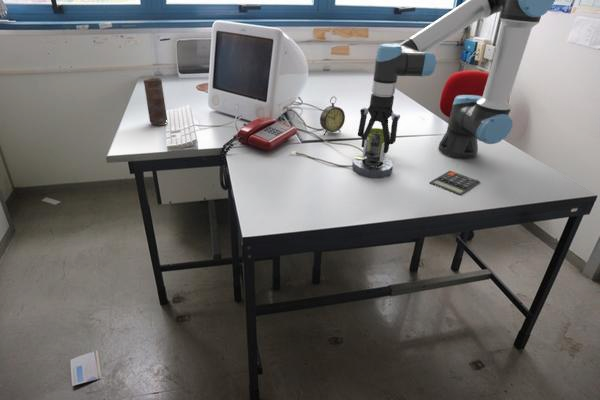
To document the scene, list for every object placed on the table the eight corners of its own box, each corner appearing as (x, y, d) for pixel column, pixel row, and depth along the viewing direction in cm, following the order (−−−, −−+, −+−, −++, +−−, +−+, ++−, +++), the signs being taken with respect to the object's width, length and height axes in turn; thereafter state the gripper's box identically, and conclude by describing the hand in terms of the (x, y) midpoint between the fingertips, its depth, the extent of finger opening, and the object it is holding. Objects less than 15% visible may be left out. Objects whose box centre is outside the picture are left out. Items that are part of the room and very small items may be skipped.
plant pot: (390, 151, 165) (394, 131, 160) (382, 159, 158) (385, 138, 153) (369, 146, 169) (371, 126, 164) (360, 153, 162) (362, 133, 157)
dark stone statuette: (378, 159, 150) (383, 128, 144) (382, 166, 145) (387, 134, 139) (363, 159, 150) (367, 128, 144) (365, 166, 145) (370, 134, 139)
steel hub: (396, 168, 151) (398, 160, 150) (382, 182, 141) (384, 173, 139) (361, 158, 157) (362, 151, 156) (346, 171, 147) (346, 163, 145)
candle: (153, 127, 176) (147, 81, 166) (147, 123, 181) (140, 77, 171) (170, 124, 180) (165, 78, 171) (163, 120, 185) (158, 75, 175)
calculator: (480, 181, 144) (461, 194, 134) (480, 183, 144) (460, 196, 135) (450, 169, 151) (429, 181, 141) (449, 172, 151) (428, 184, 142)
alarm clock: (324, 136, 176) (327, 99, 168) (317, 132, 180) (319, 96, 172) (344, 132, 182) (347, 96, 174) (336, 129, 185) (340, 93, 177)
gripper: (414, 96, 134) (401, 161, 145) (361, 86, 142) (353, 148, 153) (406, 101, 128) (394, 168, 140) (352, 91, 136) (345, 155, 148)
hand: (373, 158), depth 147 cm, fingers closed on dark stone statuette, 6 cm apart
